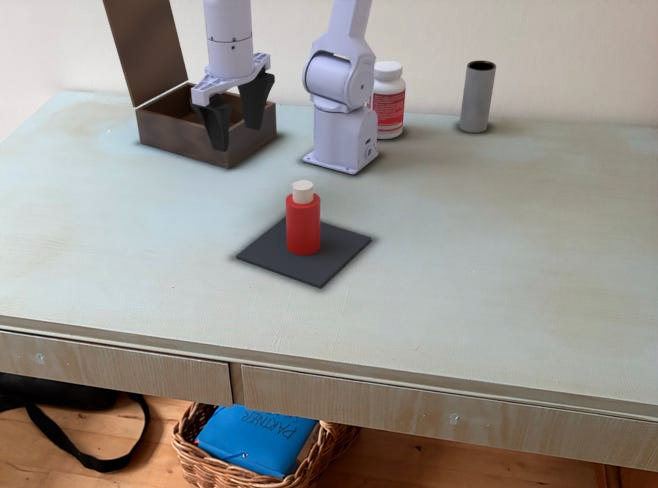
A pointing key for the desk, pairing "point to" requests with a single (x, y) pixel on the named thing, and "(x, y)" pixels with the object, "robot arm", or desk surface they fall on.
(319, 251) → the mat
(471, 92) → the grey tube
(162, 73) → the brown box lid
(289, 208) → the ketchup
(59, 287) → the desk surface
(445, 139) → the desk surface
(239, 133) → the brown wooden open box
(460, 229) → the desk surface
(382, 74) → the pill bottle
